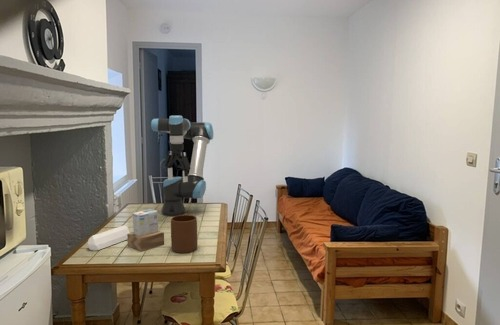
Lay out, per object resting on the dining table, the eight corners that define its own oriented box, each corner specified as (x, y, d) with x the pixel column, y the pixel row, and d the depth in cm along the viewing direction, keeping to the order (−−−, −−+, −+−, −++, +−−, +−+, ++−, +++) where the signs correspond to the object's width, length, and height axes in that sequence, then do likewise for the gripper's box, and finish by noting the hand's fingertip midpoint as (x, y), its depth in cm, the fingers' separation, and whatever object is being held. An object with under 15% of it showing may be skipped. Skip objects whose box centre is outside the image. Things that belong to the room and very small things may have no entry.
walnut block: (127, 245, 188) (127, 233, 188) (150, 239, 198) (149, 227, 197) (141, 251, 181) (140, 238, 180) (164, 244, 190) (163, 232, 189)
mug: (175, 239, 197) (174, 210, 195) (199, 239, 198) (199, 210, 196) (169, 254, 178) (168, 222, 175) (196, 253, 178) (195, 221, 176)
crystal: (121, 228, 204) (81, 241, 184) (129, 223, 201) (89, 236, 180) (126, 241, 203) (87, 255, 183) (134, 236, 200) (95, 250, 179)
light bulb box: (151, 228, 195) (151, 208, 193) (159, 231, 190) (158, 210, 189) (132, 233, 187) (131, 212, 186) (139, 237, 182) (138, 215, 181)
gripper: (157, 142, 219) (159, 178, 222) (185, 145, 203) (186, 184, 206) (168, 141, 225) (169, 177, 228) (196, 144, 208) (197, 182, 211)
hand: (177, 180), depth 217 cm, fingers open, 13 cm apart
